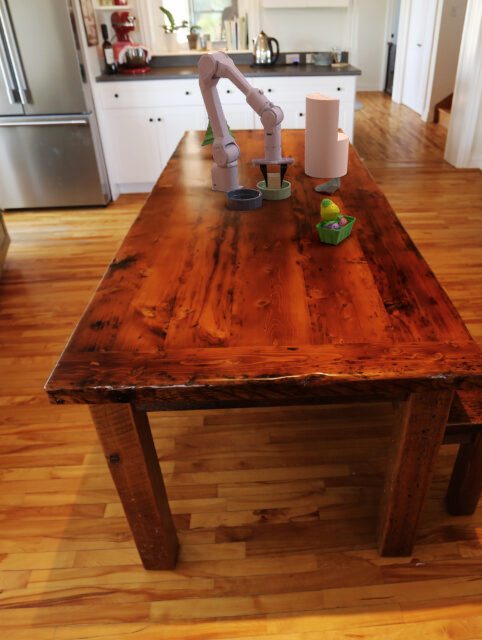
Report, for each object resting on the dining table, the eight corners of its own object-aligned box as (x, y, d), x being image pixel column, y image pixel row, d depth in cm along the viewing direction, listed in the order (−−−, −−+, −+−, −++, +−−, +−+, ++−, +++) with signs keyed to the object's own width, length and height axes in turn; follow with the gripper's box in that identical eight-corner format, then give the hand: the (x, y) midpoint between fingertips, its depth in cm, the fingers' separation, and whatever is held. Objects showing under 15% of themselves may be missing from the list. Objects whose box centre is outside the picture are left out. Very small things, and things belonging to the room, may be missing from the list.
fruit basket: (338, 247, 138) (340, 209, 131) (310, 241, 142) (311, 203, 135) (355, 234, 146) (358, 197, 139) (329, 228, 149) (330, 192, 143)
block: (268, 191, 172) (267, 177, 169) (267, 187, 175) (267, 173, 173) (280, 190, 172) (280, 176, 169) (279, 187, 176) (279, 173, 173)
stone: (319, 200, 174) (346, 191, 173) (316, 189, 172) (343, 180, 171) (315, 193, 183) (341, 184, 182) (312, 183, 181) (338, 174, 180)
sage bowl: (251, 198, 173) (250, 187, 171) (267, 188, 182) (266, 177, 180) (281, 203, 168) (281, 191, 166) (296, 193, 177) (296, 182, 175)
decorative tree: (199, 161, 214) (191, 85, 196) (210, 152, 226) (203, 80, 209) (229, 162, 212) (224, 85, 194) (238, 153, 224) (234, 80, 207)
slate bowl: (219, 208, 165) (218, 196, 162) (238, 197, 174) (237, 186, 171) (251, 214, 160) (250, 202, 158) (268, 202, 169) (268, 191, 167)
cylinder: (316, 180, 190) (318, 101, 174) (297, 169, 203) (298, 94, 187) (354, 174, 196) (360, 97, 180) (334, 164, 209) (337, 91, 193)
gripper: (251, 149, 162) (253, 190, 170) (295, 148, 163) (295, 188, 170) (251, 144, 168) (253, 183, 175) (293, 143, 168) (293, 182, 176)
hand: (273, 186), depth 173 cm, fingers closed on block, 4 cm apart
